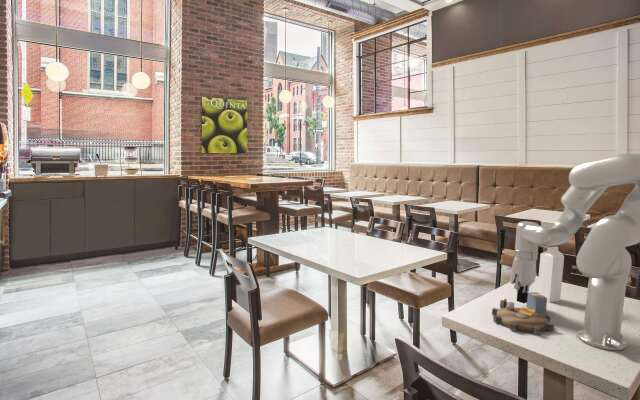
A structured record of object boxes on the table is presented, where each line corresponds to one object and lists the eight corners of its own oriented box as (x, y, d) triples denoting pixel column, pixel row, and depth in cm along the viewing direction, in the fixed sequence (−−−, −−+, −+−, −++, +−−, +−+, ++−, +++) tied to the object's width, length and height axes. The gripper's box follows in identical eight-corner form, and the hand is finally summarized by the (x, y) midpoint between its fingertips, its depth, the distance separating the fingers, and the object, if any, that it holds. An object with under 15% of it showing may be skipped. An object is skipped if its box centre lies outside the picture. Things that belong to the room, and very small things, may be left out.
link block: (545, 313, 146) (547, 297, 146) (535, 313, 146) (536, 297, 145) (536, 307, 152) (537, 292, 151) (526, 307, 152) (527, 292, 151)
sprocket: (566, 334, 128) (568, 321, 128) (508, 334, 127) (509, 321, 127) (532, 310, 148) (533, 299, 147) (481, 310, 147) (482, 299, 146)
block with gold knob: (507, 310, 149) (508, 299, 148) (503, 310, 149) (504, 299, 148) (504, 307, 151) (504, 296, 150) (500, 307, 151) (500, 296, 150)
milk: (536, 297, 162) (540, 245, 160) (547, 295, 164) (551, 244, 162) (549, 302, 157) (554, 249, 154) (560, 301, 159) (565, 248, 156)
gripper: (526, 250, 153) (522, 295, 155) (505, 255, 144) (501, 302, 147) (545, 254, 147) (541, 301, 149) (525, 260, 138) (521, 309, 140)
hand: (521, 301), depth 148 cm, fingers closed
